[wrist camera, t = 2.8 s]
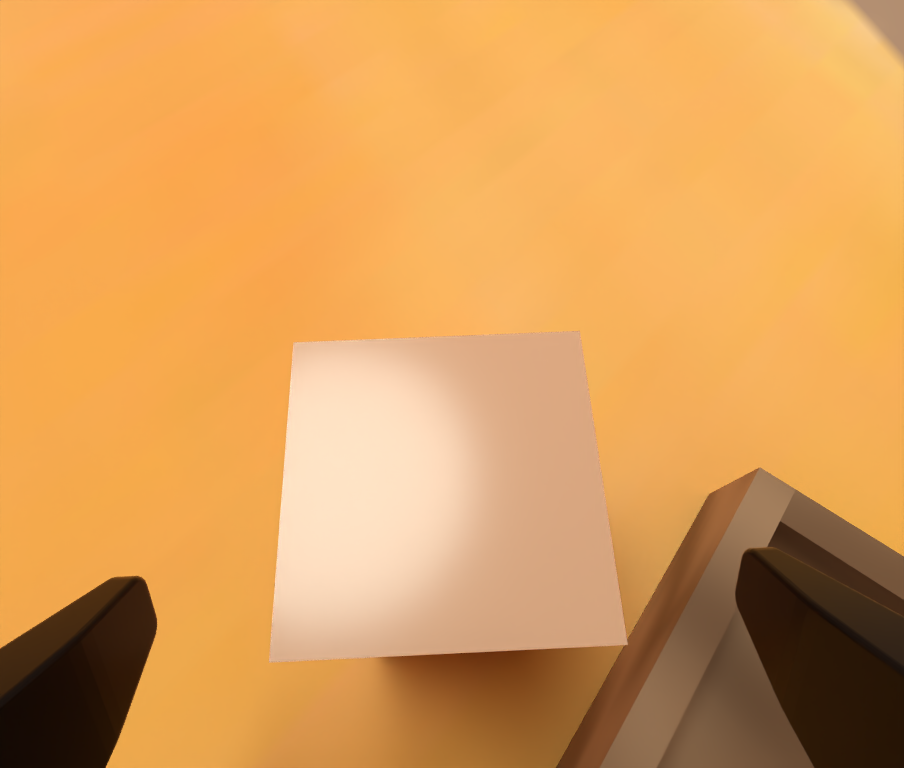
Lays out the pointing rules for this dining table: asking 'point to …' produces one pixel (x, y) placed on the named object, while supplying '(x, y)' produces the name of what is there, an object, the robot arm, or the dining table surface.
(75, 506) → the dining table surface
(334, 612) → the clay blank
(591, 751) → the rack
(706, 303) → the dining table surface
